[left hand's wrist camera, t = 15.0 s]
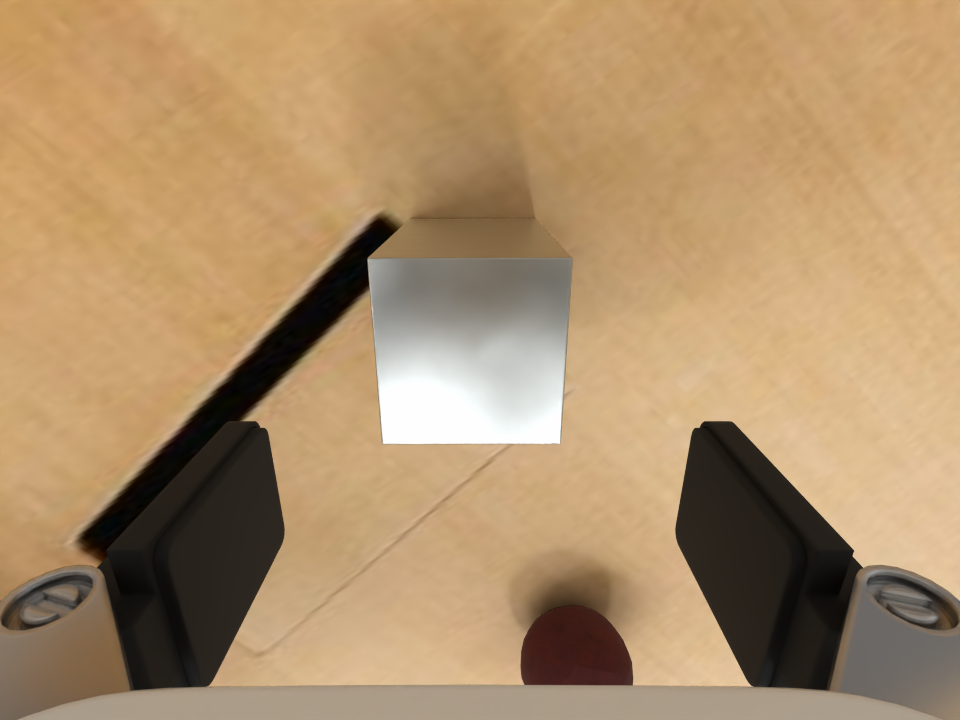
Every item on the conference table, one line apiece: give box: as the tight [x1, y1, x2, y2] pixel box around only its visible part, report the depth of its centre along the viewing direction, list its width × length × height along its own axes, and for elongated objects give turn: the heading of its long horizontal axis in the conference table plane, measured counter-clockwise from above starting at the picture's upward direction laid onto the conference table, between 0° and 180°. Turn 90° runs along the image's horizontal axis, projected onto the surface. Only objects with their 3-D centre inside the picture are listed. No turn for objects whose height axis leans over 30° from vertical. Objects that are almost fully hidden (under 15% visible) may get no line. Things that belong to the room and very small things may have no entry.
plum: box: [521, 605, 633, 686], centre depth 35 cm, size 7×8×7 cm
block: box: [367, 218, 573, 444], centre depth 24 cm, size 7×7×12 cm
